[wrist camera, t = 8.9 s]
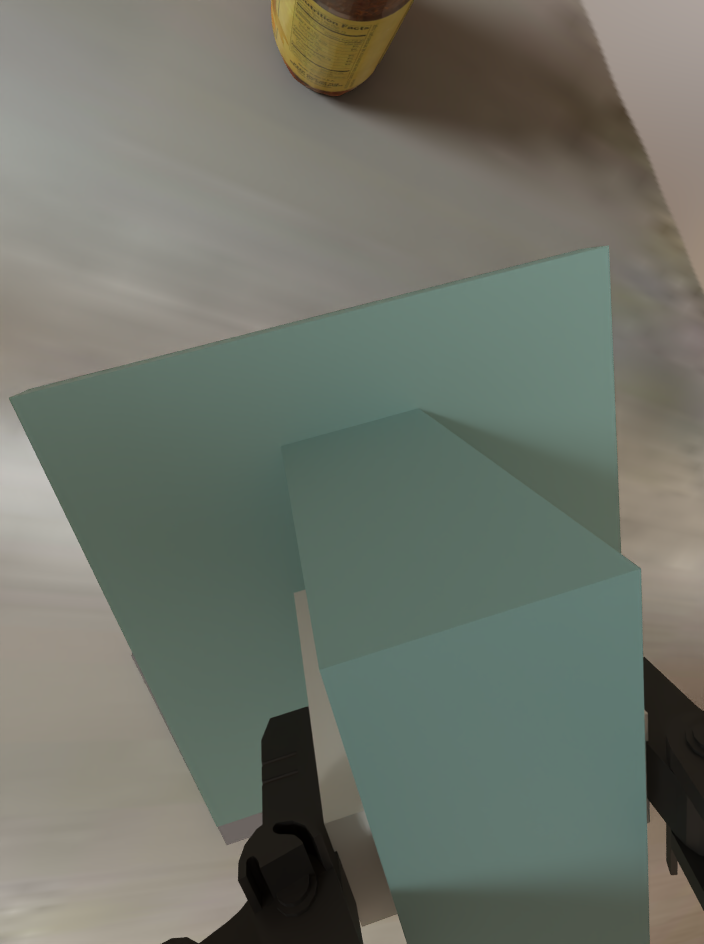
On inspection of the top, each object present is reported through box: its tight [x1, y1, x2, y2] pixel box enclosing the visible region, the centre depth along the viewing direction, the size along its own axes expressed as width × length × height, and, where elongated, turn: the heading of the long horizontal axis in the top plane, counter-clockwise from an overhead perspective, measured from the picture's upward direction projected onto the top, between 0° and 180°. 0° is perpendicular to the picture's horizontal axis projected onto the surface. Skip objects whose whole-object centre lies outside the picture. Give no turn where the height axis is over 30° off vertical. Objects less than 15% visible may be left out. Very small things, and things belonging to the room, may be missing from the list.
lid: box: [9, 246, 650, 944], centre depth 13 cm, size 16×16×10 cm
